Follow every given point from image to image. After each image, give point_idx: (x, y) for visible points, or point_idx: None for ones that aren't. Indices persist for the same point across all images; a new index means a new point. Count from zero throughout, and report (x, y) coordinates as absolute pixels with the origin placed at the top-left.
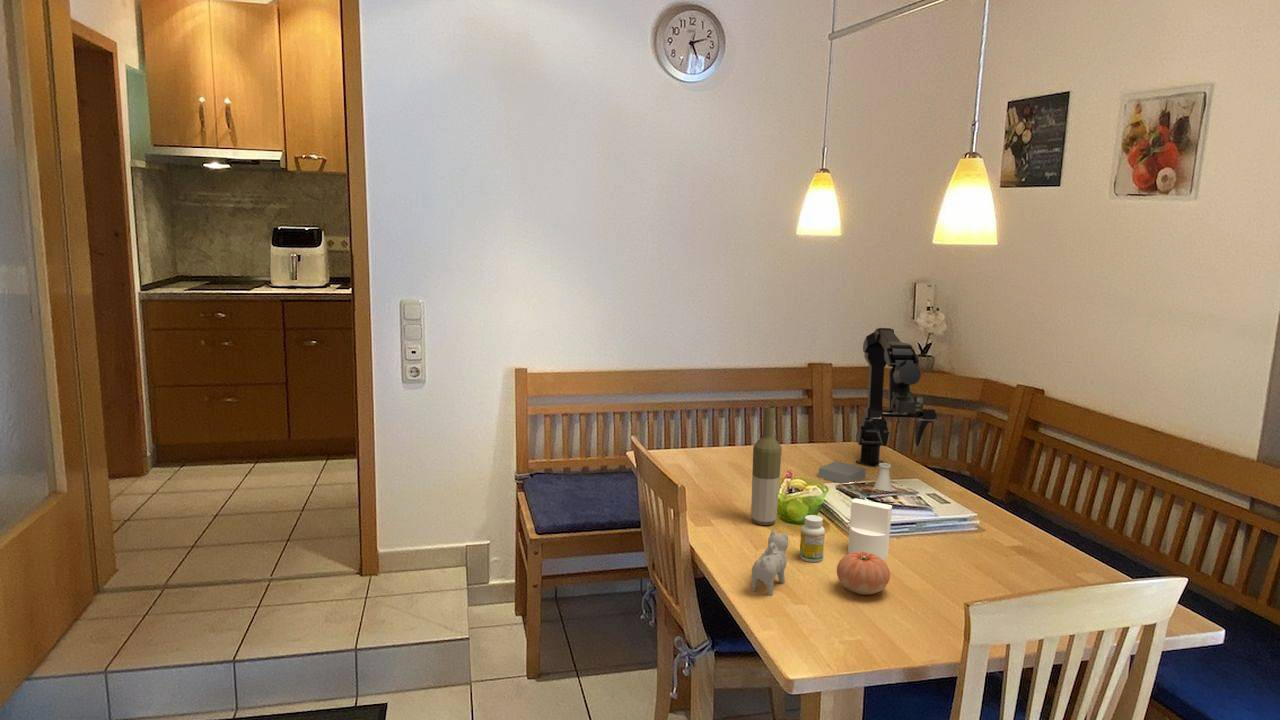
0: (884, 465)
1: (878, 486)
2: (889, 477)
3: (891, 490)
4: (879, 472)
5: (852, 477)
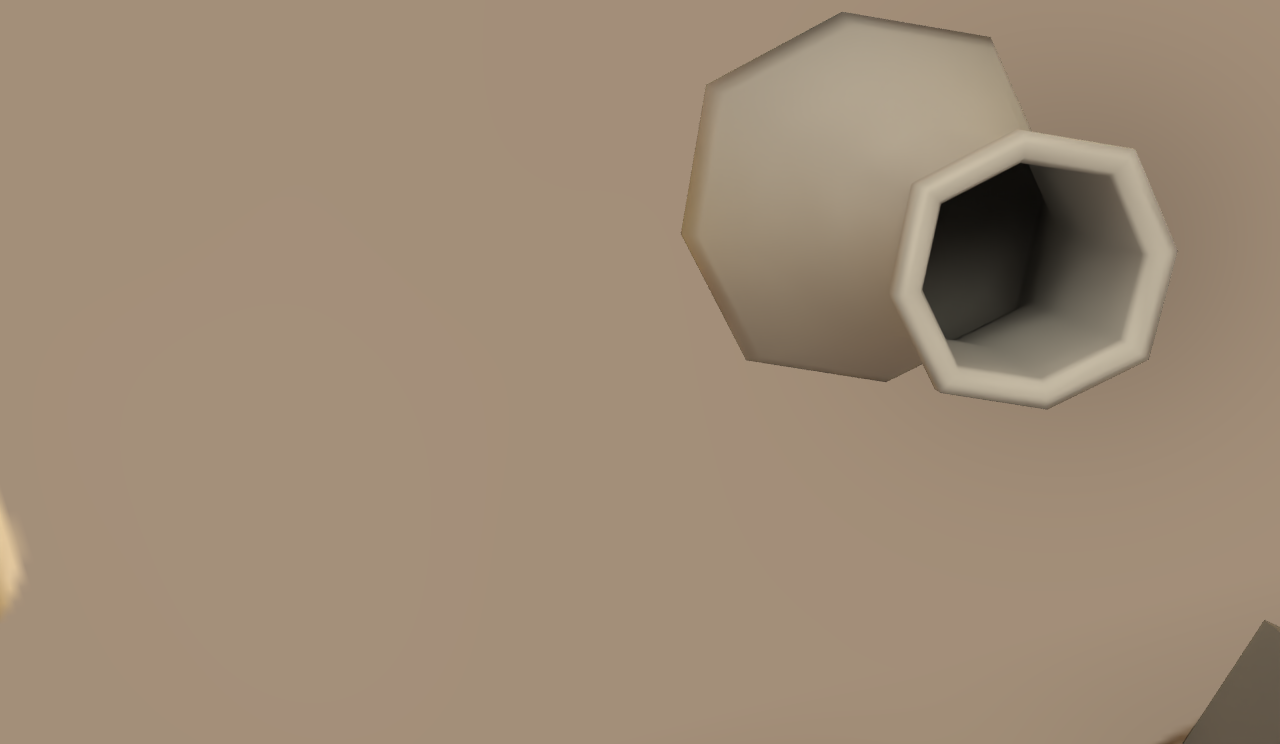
0: (1014, 367)
1: (1001, 96)
2: (848, 225)
3: (771, 130)
4: (1075, 221)
5: (1274, 735)
